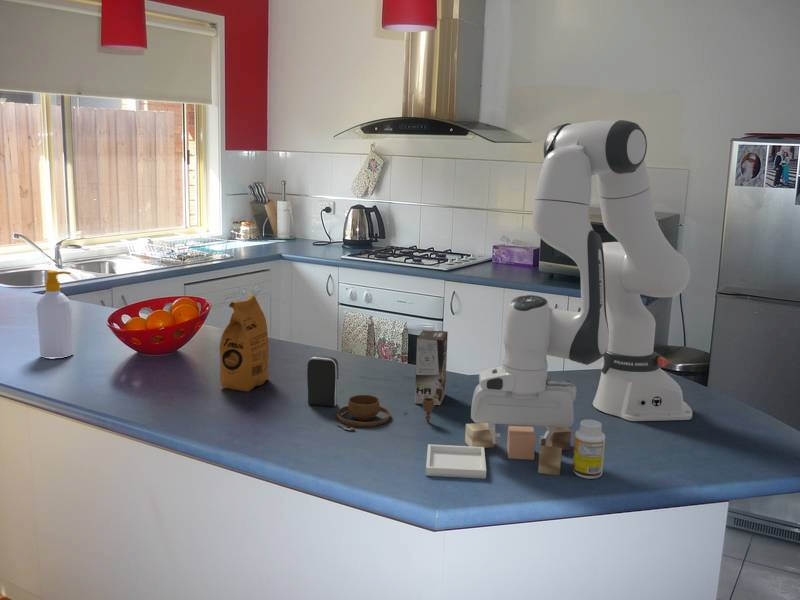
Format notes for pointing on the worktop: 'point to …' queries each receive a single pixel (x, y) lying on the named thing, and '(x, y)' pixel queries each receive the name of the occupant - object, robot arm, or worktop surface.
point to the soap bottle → (55, 320)
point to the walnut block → (560, 438)
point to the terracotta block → (521, 442)
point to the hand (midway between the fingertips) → (519, 444)
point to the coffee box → (431, 366)
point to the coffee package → (244, 347)
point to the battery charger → (322, 381)
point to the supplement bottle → (589, 450)
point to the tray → (456, 461)
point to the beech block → (479, 435)
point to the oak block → (550, 460)
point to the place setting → (373, 410)
